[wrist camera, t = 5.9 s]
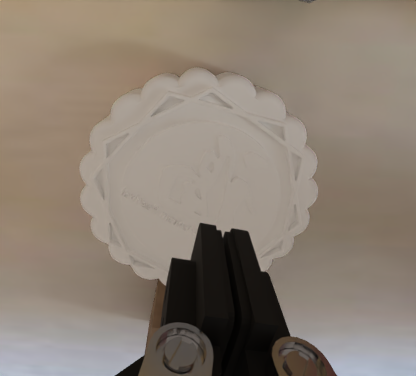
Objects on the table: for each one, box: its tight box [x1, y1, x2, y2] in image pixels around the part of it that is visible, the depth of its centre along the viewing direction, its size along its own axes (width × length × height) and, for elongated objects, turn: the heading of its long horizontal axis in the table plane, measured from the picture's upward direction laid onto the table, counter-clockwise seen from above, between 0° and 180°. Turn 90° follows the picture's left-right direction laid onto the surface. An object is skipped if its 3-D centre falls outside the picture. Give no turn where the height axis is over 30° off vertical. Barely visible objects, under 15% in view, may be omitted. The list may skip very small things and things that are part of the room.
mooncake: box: [79, 67, 318, 286], centre depth 16 cm, size 12×12×4 cm
